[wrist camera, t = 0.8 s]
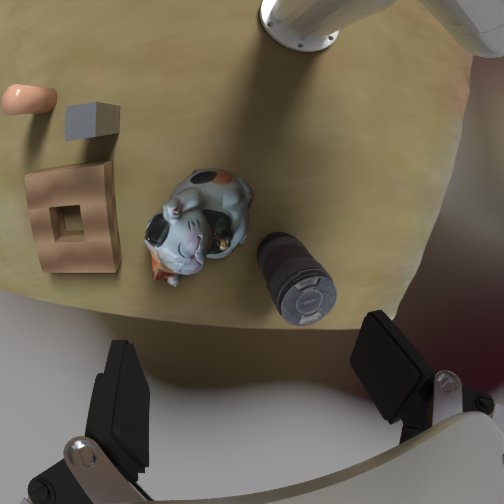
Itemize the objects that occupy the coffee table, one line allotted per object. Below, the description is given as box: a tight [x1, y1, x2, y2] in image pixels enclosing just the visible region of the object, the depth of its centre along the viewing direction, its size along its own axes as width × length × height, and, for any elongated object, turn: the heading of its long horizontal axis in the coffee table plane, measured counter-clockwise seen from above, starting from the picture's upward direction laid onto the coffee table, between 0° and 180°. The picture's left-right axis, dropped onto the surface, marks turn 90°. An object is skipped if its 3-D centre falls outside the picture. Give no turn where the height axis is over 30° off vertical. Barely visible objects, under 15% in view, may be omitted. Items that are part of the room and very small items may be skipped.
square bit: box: [65, 102, 120, 141], centre depth 27 cm, size 4×4×10 cm
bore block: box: [24, 160, 122, 273], centre depth 34 cm, size 16×14×4 cm
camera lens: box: [257, 232, 337, 326], centre depth 39 cm, size 8×8×15 cm
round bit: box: [1, 84, 57, 115], centre depth 22 cm, size 4×4×10 cm
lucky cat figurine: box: [144, 169, 253, 287], centre depth 35 cm, size 15×12×14 cm
